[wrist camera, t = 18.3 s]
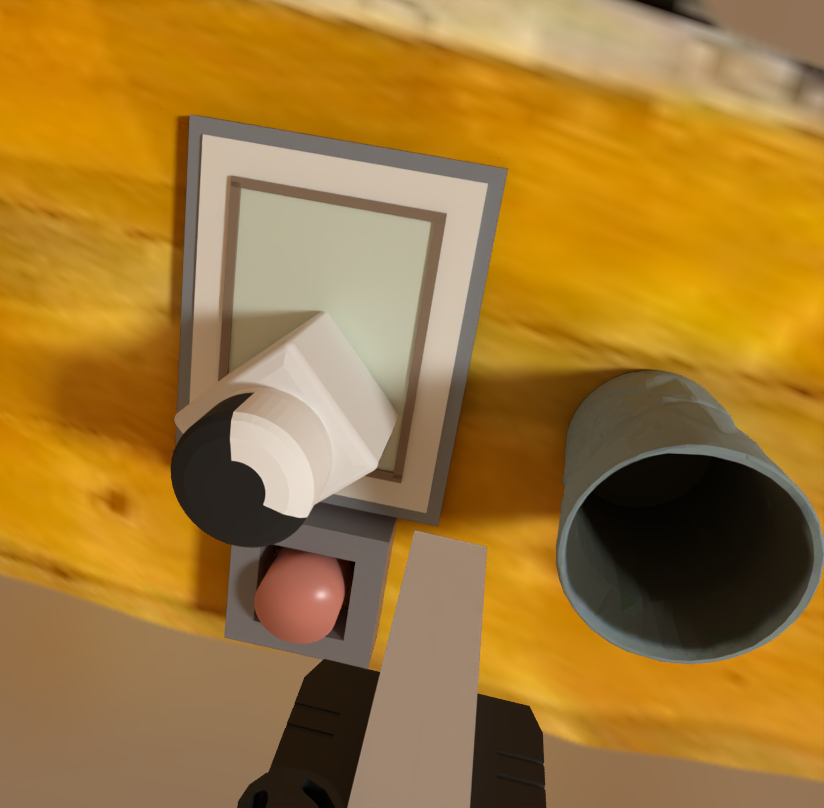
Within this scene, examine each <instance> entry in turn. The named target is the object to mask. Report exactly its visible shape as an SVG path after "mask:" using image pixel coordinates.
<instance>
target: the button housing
mask: <svg viewBox="0 0 824 808" xmlns="http://www.w3.org/2000/svg"><path fill="white" fill-rule="evenodd" d="M396 521H397V518H396V517H391V516H386V515H381V514H376V513H372V512H367V511H362V510H357V509H352V508H348V507H343V506H338V505H333V504H328V503H324V502H318V503H317V504H315V505H314V506H313V508H312V510H311V511H310V513H309V515H308V517H307V518H306V520H305V521H304V523H303V524H302V526H301V527H300V528H299V529H298V530H297V531H296V532H295V533H294V534H292V535H291V536H290V537H288V538H286V539H285V540H283V541H281V542H279V543H276V544H273V545H269V546H265V547H256V548H249V547H240V546H234V545H232V547H231V560H230V573H229V585H228V598H227V611H226V624H225V637H224V638H229V639H233V640H238V641H242V642H246V643H251V644H255V645H260V646H264V647H269V648H273V649H278V650H282V651H287V652H291V653H296V654H300V655H305V656H309V657H313V658H318V659H322V660H324V659H328V660H332V661H336V662H340V663H344V664H349V665H353V666H357V667H361V668H365V669H368V666H369V663H370V659H371V656H372V652H373V649H374V645H375V642H376V638H377V632H378V626H379V621H380V615H381V609H382V603H383V597H384V591H385V585H386V580H387V574H388V568H389V562H390V556H391V550H392V544H393V539H394V533H395V527H396ZM274 545H279V546H283V547H288V548H293V549H297V550H302V551H307V552H312V553H316V554H321V555H326V556H330V557H335V558H340V559H344V560H349V561H354V562H356V563H355V569H354V576H353V582H352V589H351V596H350V602H349V609H344V608H341V609H340V611H339V614H338V617H337V619H336V622H335V625H334V627H333V628H332V630H331V631H330V633H329V634H328V635H326V636H325V637H324V638H322V639H321V640H318V641H316V642H313V643H308V644H296V643H290V642H287V641H284V640H282V639H280V638H278V637H276V636H274V635H273V634H271V633H270V632H269V631H268V630H267V629H266V628H265V627H264V626H263V625H262V623H261V622H260V620H259V619H258V616H257V614H256V611H255V606H254V599H255V594H256V591H257V589H258V587H259V586H260V584H261V582H262V580H263V579H264V577H265V575H266V574H267V572H268V570H269V568H270V567H271V565H272V558H273V549H274Z"/></svg>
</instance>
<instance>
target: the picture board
mask: <svg viewBox="0 0 824 808" xmlns="http://www.w3.org/2000/svg"><path fill="white" fill-rule="evenodd" d="M507 170H508V168H502V167H496V166H491V165H485V164H479V163H473V162H467V161H461V160H456V159H450V158H444V157H438V156H432V155H427V154H421V153H415V152H409V151H403V150H397V149H392V148H386V147H380V146H374V145H368V144H362V143H357V142H351V141H345V140H339V139H333V138H328V137H322V136H316V135H310V134H304V133H298V132H293V131H287V130H281V129H275V128H269V127H263V126H258V125H252V124H246V123H240V122H234V121H229V120H223V119H217V118H211V117H205V116H199V115H190V120H189V144H188V167H187V190H186V213H185V237H184V260H183V283H182V306H181V330H180V353H179V376H178V399H177V413H178V412H179V411H181V410H182V409H183V408H185V407H186V406H187V405H189V404H190V403H191V402H192V401H194V400H195V399H196V398H198V397H199V396H200V395H202V394H203V393H204V392H205V391H207V390H208V389H209V388H211V387H212V386H213V385H215V384H216V383H217V382H219V381H220V380H221V379H222V378H224V377H225V376H226V375H228V374H229V373H231V372H232V371H234V370H235V369H237V368H238V367H240V366H241V365H243V364H244V363H246V362H247V361H249V360H250V359H251V358H253V357H254V356H256V355H257V354H259V353H260V352H262V351H263V350H265V349H266V348H268V347H269V346H271V345H272V344H274V343H275V342H277V341H278V340H280V339H281V338H283V337H284V336H286V335H287V334H289V333H290V332H292V331H293V330H295V329H296V328H298V327H299V326H301V325H302V324H304V323H305V322H307V321H308V320H310V319H311V318H313V317H314V316H315V315H317V314H318V313H320V312H327V313H328V314H329V315H330V316H331V318H332V319H333V321H334V322H335V323H336V325H337V326H338V328H339V329H340V331H341V332H342V334H343V335H344V337H345V338H346V339H347V341H348V342H349V344H350V345H351V347H352V348H353V350H354V351H355V352H356V354H357V355H358V357H359V358H360V360H361V361H362V363H363V364H364V365H365V367H366V368H367V370H368V371H369V373H370V374H371V376H372V377H373V378H374V380H375V381H376V383H377V384H378V386H379V387H380V389H381V390H382V392H383V393H384V394H385V396H386V397H387V399H388V400H389V402H390V403H391V405H392V406H393V407H394V409H395V410H396V412H397V414H398V416H399V417H398V421H397V423H396V426H395V428H394V430H393V432H392V435H391V437H390V439H389V442H388V444H387V446H386V448H385V451H384V453H383V455H382V458H381V460H380V462H379V464H378V467H377V468H376V469H375V470H374V471H372V472H370V473H369V474H367V475H365V476H363V477H362V478H360V479H358V480H356V481H355V482H353V483H351V484H350V485H348V486H346V487H344V488H343V489H341V490H339V491H337V492H336V493H334V494H332V495H331V496H329V497H327V498H325V499H324V500H322V501H320V502H324V503H328V504H333V505H338V506H343V507H348V508H352V509H357V510H362V511H367V512H372V513H376V514H381V515H386V516H391V517H396V518H400V519H405V520H410V521H415V522H420V523H424V524H429V525H434V526H438V524H439V519H440V514H441V509H442V504H443V498H444V493H445V488H446V483H447V478H448V473H449V468H450V463H451V457H452V452H453V447H454V442H455V437H456V432H457V427H458V421H459V416H460V411H461V406H462V401H463V396H464V391H465V386H466V380H467V375H468V370H469V365H470V360H471V355H472V350H473V345H474V339H475V334H476V329H477V324H478V319H479V314H480V309H481V304H482V298H483V293H484V288H485V283H486V278H487V273H488V268H489V263H490V257H491V252H492V247H493V242H494V237H495V232H496V227H497V222H498V216H499V211H500V206H501V201H502V196H503V191H504V186H505V181H506V175H507ZM182 435H183V433H182V432H181V431H180V429H179V428H178V427H177V425H176V445H177V443H178V441H179V439H180V438H181V436H182ZM175 447H176V446H175Z"/></svg>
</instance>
